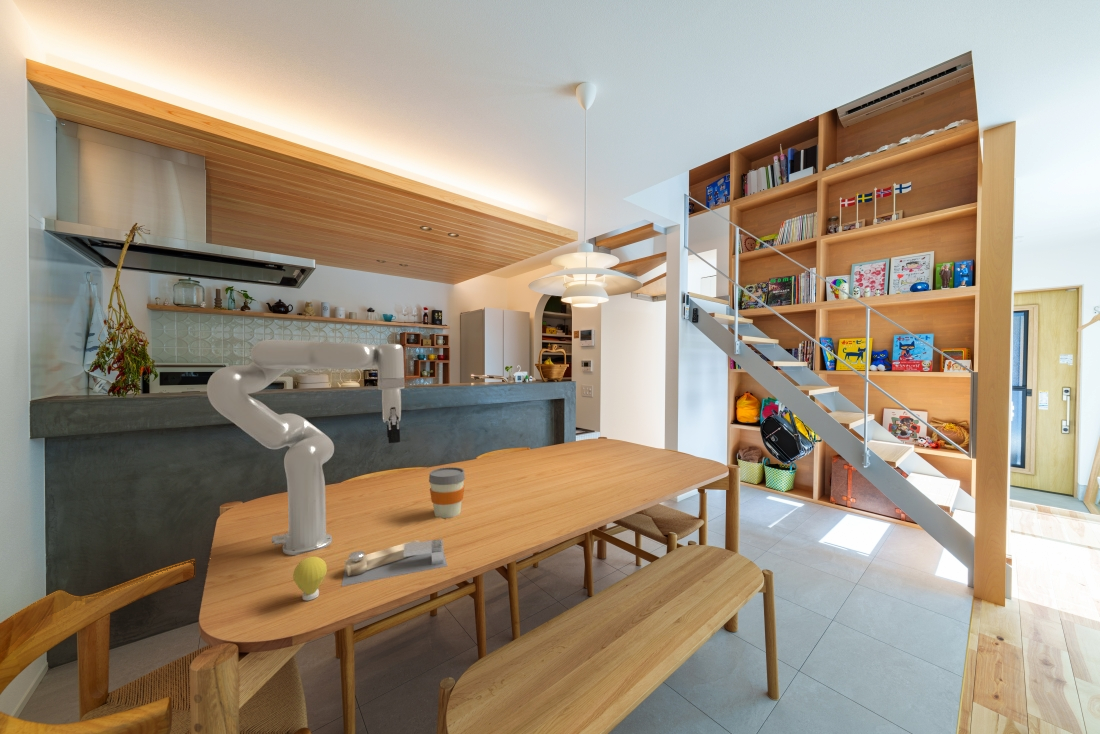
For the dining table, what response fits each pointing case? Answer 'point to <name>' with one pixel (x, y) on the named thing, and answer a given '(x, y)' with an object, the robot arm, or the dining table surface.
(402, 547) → the arm link
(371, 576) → the base board
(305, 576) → the light bulb
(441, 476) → the reusable coffee cup
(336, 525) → the dining table surface
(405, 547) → the block
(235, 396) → the robot arm
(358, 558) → the pin cap
